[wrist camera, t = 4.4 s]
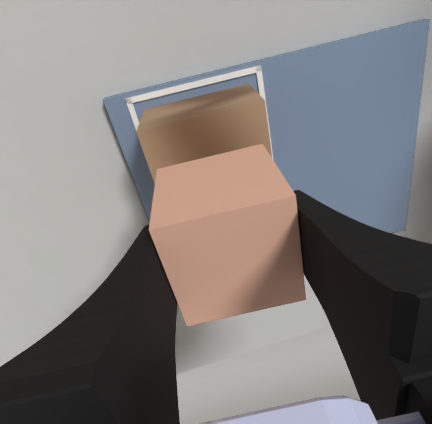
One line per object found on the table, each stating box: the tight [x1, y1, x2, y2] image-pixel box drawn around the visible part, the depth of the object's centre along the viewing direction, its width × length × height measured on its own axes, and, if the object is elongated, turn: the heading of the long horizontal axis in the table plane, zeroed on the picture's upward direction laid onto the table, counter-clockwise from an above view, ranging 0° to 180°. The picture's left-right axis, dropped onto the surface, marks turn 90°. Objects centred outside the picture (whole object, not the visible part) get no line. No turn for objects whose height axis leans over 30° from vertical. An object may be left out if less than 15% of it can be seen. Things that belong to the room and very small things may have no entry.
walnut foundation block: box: [136, 84, 272, 183], centre depth 18 cm, size 6×6×4 cm
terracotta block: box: [149, 144, 306, 326], centre depth 13 cm, size 4×4×4 cm
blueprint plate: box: [103, 19, 430, 233], centre depth 22 cm, size 18×14×1 cm
